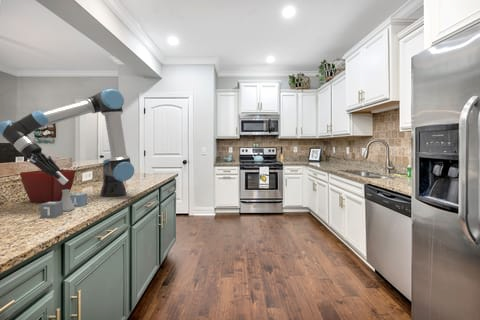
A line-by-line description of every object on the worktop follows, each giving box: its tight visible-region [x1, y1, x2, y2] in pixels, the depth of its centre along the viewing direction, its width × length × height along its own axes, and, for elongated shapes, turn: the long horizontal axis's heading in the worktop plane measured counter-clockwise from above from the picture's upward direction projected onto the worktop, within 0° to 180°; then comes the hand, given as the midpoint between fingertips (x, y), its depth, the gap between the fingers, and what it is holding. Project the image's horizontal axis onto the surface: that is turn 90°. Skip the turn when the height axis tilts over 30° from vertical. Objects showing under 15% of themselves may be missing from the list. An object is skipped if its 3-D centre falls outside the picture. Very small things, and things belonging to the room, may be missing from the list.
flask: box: [60, 190, 76, 212], centre depth 131 cm, size 7×7×10 cm
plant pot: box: [19, 169, 76, 203], centre depth 154 cm, size 19×19×17 cm
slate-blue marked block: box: [70, 192, 88, 208], centre depth 142 cm, size 6×6×6 cm
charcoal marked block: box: [39, 201, 64, 219], centre depth 120 cm, size 6×6×6 cm
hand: (65, 182), depth 131 cm, fingers closed
